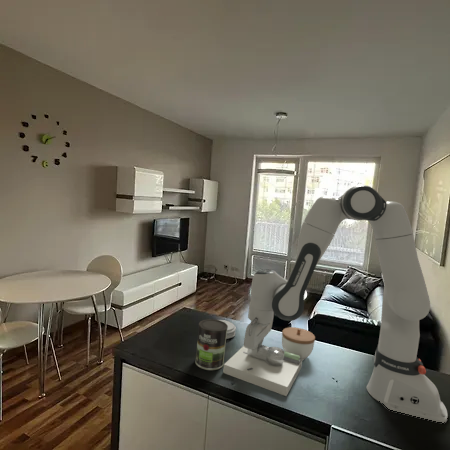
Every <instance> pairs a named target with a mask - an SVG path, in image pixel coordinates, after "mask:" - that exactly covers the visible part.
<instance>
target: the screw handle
mask: <svg viewBox="0 0 450 450" xmlns="http://www.w3.org/2000/svg"><path fill="white" fill-rule="evenodd" d="M284 353H285V352H284V349H283V348H280V347H276V346H270V347H269V346H268V345H267V346H266V345H264V344H262V345H261V344H258V353H257V354H256V355H255V354H252V350H251V349H248V352H247V355H250V356H253V357H256V358H259V359H262V360H265V361H266V362H267V363H268V364H270V365H272V366H282V365H283V361H284Z"/></svg>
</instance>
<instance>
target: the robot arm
mask: <svg viewBox="0 0 450 450" xmlns="http://www.w3.org/2000/svg"><path fill="white" fill-rule="evenodd" d="M344 220H352V221H367V222H368V223H369V224H370V226H371V228H372V231H373V232H372V233H373V238H374V243H375V248H376V254H377V258H378V262H379V263H378V264H379V267H380V272H381V275H382V281H383V283H384V285H383V293H382V304H381V305H382V306H381V317H380V318H381V320H380V328H379V329H380V330H379V338H378V344H377V347H376V349H375V352H374V353H375V354H374V360H373V365H374V367H373V370H372V374H371V376H370V378H369V381H368V383H367V385H366V391H367V392H368V393H369V395H370V396H371V397H372V398H373V399H374V400H376V401H378V402H379V401H380V402H379V403H380V404H382V403H383V404H384V405H385V406H386V407H387V408H388V409H390V410H393V411H397V412H401V413H405V414H409V415H412V416H411V417H413V416H416V417H415V418H417V417H420V418H419V419H421V418H424V419H423V420H425V419H428V420H427V421H429V420H432V421H431V422H433V421H436V422H435V423H437V422H442V423H444V422H445V423H447V421H448V419H447V418H448V416H449V415H448V410H447V408H446V406H445V404H444V402H443V401H441V396H440V394H439V393H440V392H439V390H438V388H437V386H436V385H435V384H434V382H432V380H431V379H429V378H428V376H426V373H427V370H426V367H425V366H424V363H423V362H422V360H421V359H420V358H418V357H417V355H418V349H419V344H420V337H421V334H420V332H421V331H420V320H423V319H424V318H426V316H428V315H429V312H430V310H431V299H430V295H429V293H428V292H429V291H428V288H427V284H426V281H425V277H424V274H423V271H422V267H421V265H420V264H421V263H420V262H419V256H418V253H417V248H416V247H417V246H416V242H415V238H414V233H413V228H412V224H411V221H410V218H409V215H408V213H407V211H406V207H404V205H403V204H402V203H400V202H397V201H390V200H389V201H386V200H385V199H384V198H383V197H382V196H381V195H380V193H379V192H378V191H377V190H376V189H374V188H373V187H371V186H369V185H365V184H359V185H358V184H357V185H355V186H353V187H351V188H349V189H347V190H346V191H345V192H344V193H343V194H342V195H341V196H339V197H338V198H335V197H331V196H320V197H318V198H317V199H316V200H315V201H314V203H313V204H312V206H311V207H310V209H309V210H308V212H307V215H306V216H305V218H304V220H303V222H302V225H301V227H300V230H299V234H298V237H297V253H296V259H295V263H294V265H293V267H292V270H291V272H290V274H289V277H288V279H286V278H284V277H283V276H281V275H280V274H279V273H277V272H276V270H273V269H260V270H258V271H256V272H255V273H254V274H253V277H252V280H251V281H252V282H251V287H250V301H249V304H248V315H247V319H248V320H250V323H249V324H248V325H247V326H246V329H245V331H244V332H245V333H244V338H243V346H244V347H245V348H247V349H251V350H252V354H255V355H256V354H257V353H258V344H261V345H263V342H264V339H265V338H266V337H267V336H268V334H269V333H270V332H271V330H272V327H273V322H274V317H275V316H276V317H277V318H279V319H281V320H283V321H287V322H291V321H296V320H297V319H299V318H300V317H301V316H302V315H303V313H304V310H305V294H306V290H307V288H308V286H309V283H310V281H311V279H312V276H313V274H314V272H315V270H316V268H317V265H319V264H318V263H319V262H320V260H321V259H322V258H323V256H324V254H325V252H326V251H327V249H328V248H329V246H330V245H331V243H332V242H333V241H332V240H333V239H334V237H335V235H336V233H337V230H338V228H339V226H340V224H341V223H342V222H343V221H344ZM383 404H382V405H383ZM384 405H383V406H384ZM385 406H384V407H385ZM386 407H385V408H386ZM387 408H386V409H387ZM388 409H387V410H388ZM390 410H389V411H390ZM393 411H392V412H393ZM397 412H396V413H397ZM401 413H400V414H401ZM405 414H404V415H405ZM409 415H408V416H409ZM442 423H441V424H442ZM445 423H444V424H445Z"/></svg>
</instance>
